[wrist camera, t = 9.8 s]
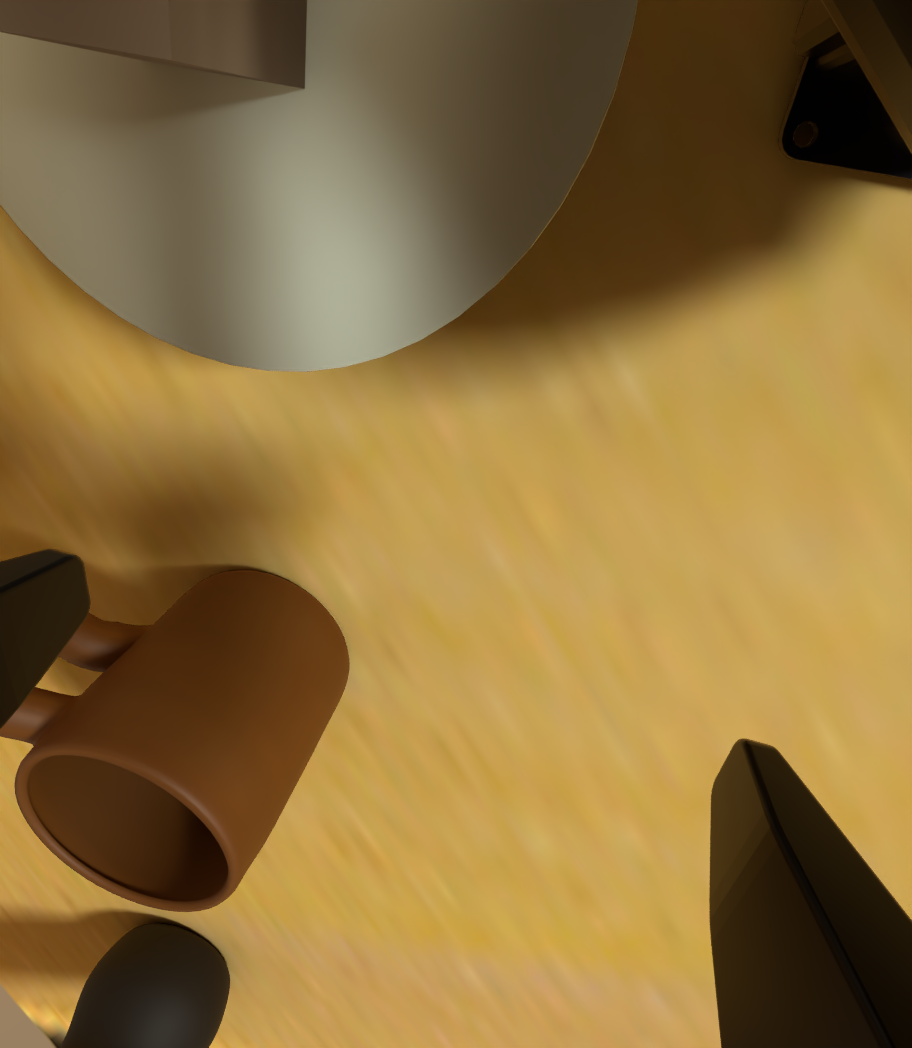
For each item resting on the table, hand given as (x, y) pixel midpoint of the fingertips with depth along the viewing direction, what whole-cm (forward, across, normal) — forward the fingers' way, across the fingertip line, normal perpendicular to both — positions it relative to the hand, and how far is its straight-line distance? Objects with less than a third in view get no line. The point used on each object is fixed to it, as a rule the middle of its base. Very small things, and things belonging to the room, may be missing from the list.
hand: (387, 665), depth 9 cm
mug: (+13, +10, +12) cm, 20 cm away
